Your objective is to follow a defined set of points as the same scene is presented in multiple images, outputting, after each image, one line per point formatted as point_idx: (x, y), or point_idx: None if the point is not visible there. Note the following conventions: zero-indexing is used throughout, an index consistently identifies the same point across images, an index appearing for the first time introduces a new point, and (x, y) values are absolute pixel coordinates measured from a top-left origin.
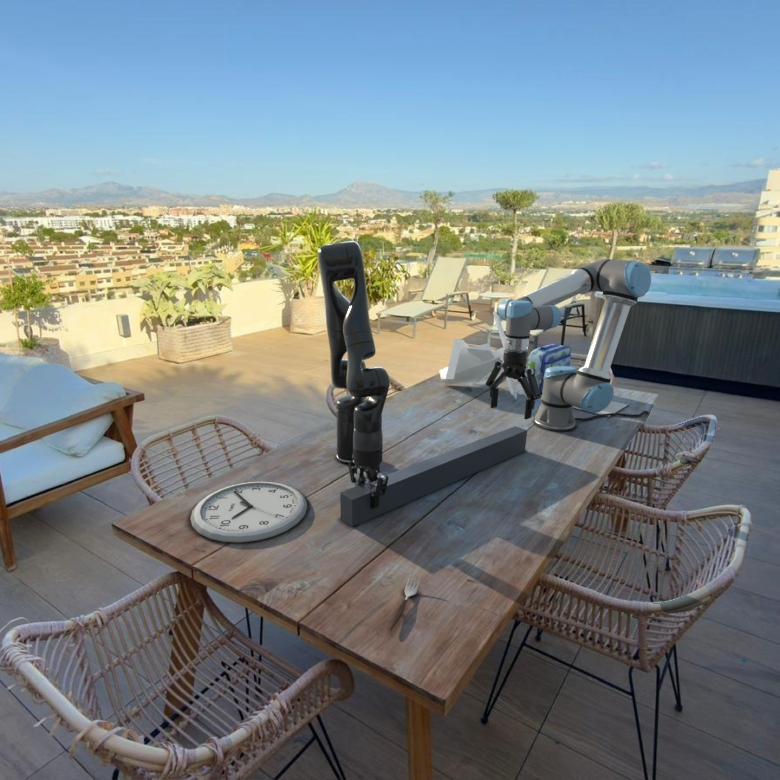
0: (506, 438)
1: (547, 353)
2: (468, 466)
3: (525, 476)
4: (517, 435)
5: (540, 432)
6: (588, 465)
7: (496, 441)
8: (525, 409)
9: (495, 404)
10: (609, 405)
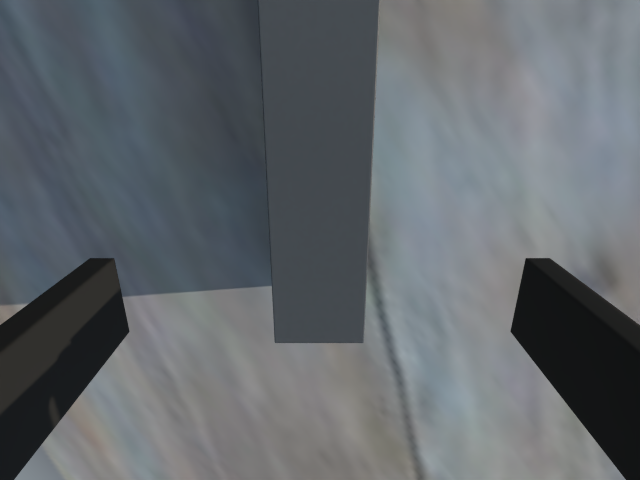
0: (264, 130)
1: None
2: None
3: (86, 38)
4: (271, 249)
5: (363, 466)
6: None
7: (271, 16)
8: (42, 313)
9: (532, 321)
10: None
